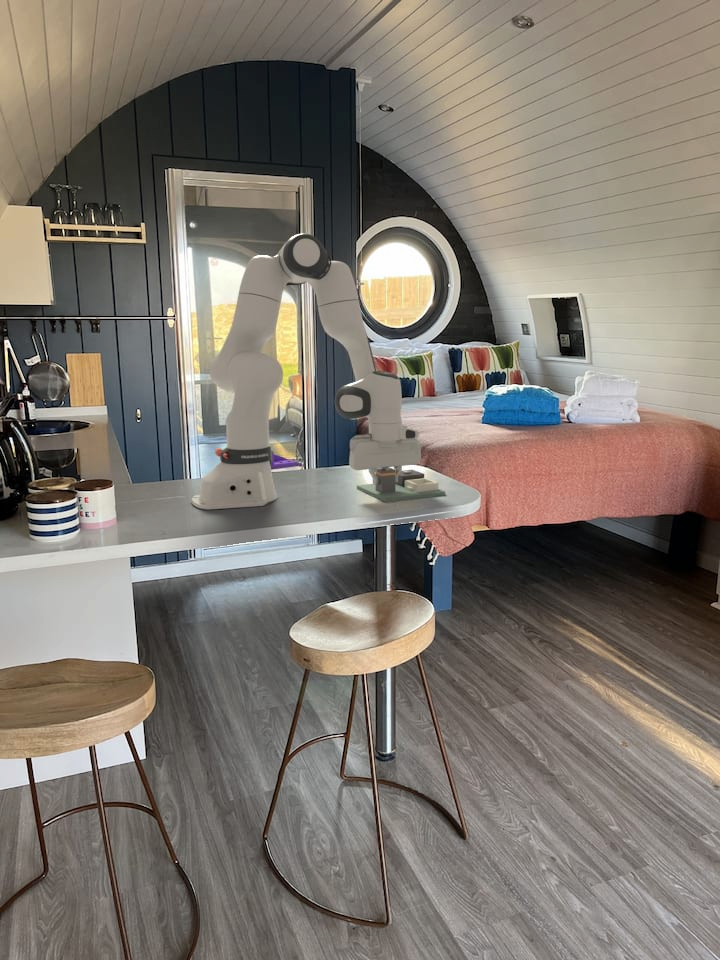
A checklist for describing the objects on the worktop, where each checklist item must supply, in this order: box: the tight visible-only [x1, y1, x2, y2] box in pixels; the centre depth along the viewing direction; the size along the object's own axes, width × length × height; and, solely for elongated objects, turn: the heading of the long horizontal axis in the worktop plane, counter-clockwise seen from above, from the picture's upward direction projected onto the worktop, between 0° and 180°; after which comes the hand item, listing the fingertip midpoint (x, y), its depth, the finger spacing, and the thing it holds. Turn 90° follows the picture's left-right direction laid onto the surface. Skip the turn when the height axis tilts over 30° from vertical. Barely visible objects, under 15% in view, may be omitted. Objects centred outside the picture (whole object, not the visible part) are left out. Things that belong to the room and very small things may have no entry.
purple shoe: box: [271, 449, 303, 471], centre depth 241 cm, size 12×7×7 cm, turn 122°
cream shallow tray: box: [405, 477, 439, 492], centre depth 204 cm, size 8×7×2 cm
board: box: [356, 483, 446, 503], centre depth 205 cm, size 18×18×1 cm
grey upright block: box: [375, 467, 396, 493], centre depth 202 cm, size 4×4×7 cm
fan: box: [395, 469, 425, 487], centre depth 211 cm, size 7×7×3 cm
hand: (385, 483), depth 202 cm, fingers closed on grey upright block, 4 cm apart
